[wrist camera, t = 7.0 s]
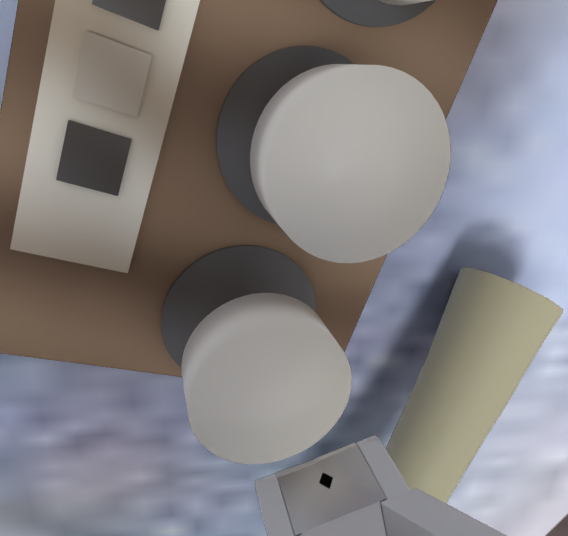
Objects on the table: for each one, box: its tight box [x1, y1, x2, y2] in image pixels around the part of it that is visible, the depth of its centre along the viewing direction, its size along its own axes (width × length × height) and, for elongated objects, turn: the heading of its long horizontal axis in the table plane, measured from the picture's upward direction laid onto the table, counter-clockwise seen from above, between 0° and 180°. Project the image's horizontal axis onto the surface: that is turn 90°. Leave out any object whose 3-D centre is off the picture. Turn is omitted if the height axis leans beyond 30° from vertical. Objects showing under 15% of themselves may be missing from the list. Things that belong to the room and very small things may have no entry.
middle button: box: [250, 64, 451, 263], centre depth 13 cm, size 5×5×2 cm
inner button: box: [181, 293, 352, 464], centre depth 15 cm, size 5×5×2 cm
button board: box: [0, 0, 497, 377], centre depth 17 cm, size 20×14×4 cm
